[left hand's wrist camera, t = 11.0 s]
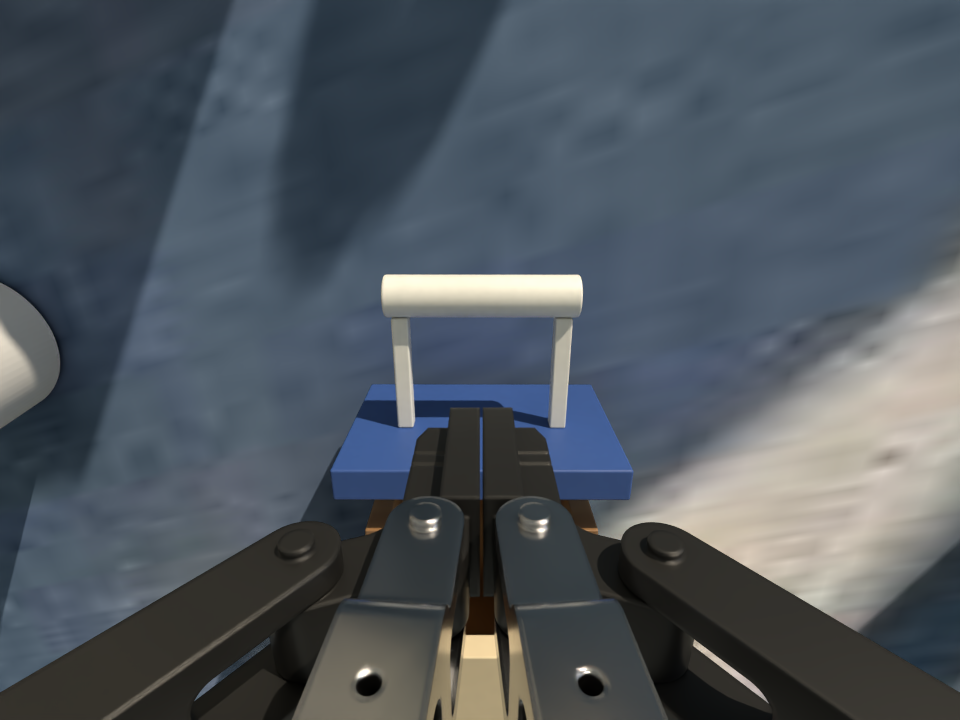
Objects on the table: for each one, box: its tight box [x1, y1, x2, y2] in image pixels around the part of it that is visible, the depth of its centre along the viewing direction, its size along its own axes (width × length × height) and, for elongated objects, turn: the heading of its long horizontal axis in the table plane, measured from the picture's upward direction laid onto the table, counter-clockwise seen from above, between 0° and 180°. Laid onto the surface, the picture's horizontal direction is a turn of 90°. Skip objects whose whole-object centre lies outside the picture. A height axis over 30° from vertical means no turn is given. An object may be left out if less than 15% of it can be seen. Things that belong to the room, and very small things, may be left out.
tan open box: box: [365, 534, 504, 720], centre depth 26 cm, size 19×11×9 cm, turn 0°
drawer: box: [330, 275, 633, 635], centre depth 22 cm, size 23×10×7 cm, turn 0°
